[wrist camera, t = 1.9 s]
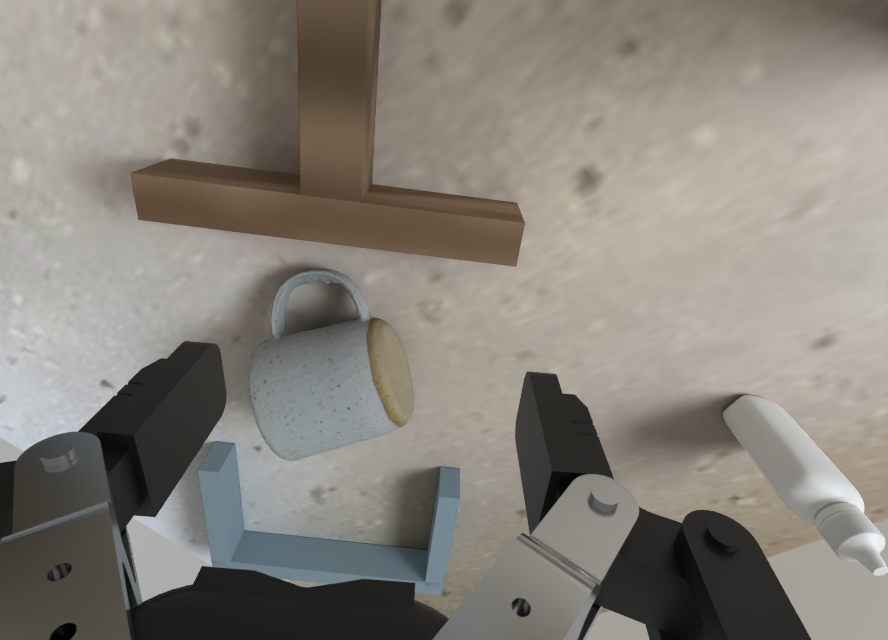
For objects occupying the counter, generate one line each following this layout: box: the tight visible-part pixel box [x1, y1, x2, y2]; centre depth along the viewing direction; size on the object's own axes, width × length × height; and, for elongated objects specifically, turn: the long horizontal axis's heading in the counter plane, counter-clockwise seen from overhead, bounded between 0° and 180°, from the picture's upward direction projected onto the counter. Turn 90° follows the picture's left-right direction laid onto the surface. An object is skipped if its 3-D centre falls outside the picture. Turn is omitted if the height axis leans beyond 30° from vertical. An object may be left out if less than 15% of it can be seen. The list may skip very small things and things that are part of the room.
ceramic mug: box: [249, 269, 414, 461], centre depth 30 cm, size 11×8×8 cm
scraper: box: [130, 0, 525, 267], centre depth 25 cm, size 14×20×4 cm
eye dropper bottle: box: [723, 395, 888, 576], centre depth 30 cm, size 4×6×12 cm
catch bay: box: [198, 442, 460, 595], centre depth 40 cm, size 12×19×3 cm, turn 83°
